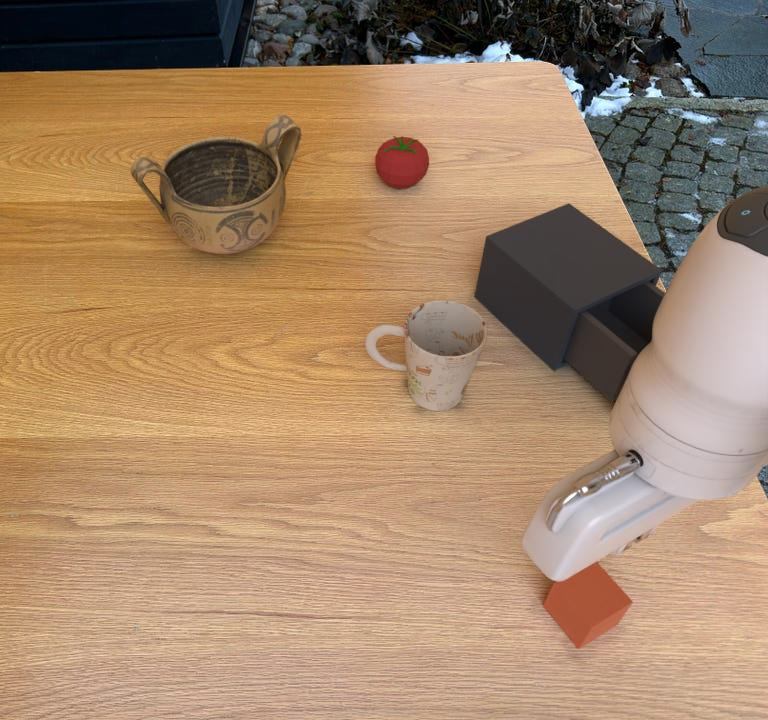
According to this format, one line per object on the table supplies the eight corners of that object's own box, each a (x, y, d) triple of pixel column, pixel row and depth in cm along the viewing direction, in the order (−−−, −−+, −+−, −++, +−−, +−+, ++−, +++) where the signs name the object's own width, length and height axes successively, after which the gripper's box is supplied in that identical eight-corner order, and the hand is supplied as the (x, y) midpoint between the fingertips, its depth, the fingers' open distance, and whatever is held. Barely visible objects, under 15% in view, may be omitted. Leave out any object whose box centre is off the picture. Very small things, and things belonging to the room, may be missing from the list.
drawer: (733, 407, 79) (764, 358, 74) (654, 451, 76) (681, 402, 70) (609, 308, 90) (629, 258, 84) (536, 342, 87) (551, 293, 81)
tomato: (365, 174, 113) (367, 128, 108) (411, 162, 115) (416, 117, 109) (387, 202, 108) (391, 156, 102) (436, 190, 110) (442, 144, 104)
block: (580, 582, 68) (594, 558, 64) (617, 624, 65) (633, 601, 62) (542, 605, 66) (553, 582, 63) (578, 649, 64) (592, 627, 60)
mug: (466, 427, 80) (480, 364, 73) (352, 401, 83) (355, 338, 76) (478, 372, 85) (492, 308, 78) (371, 349, 88) (375, 286, 81)
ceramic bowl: (274, 184, 112) (269, 89, 101) (328, 246, 102) (328, 149, 91) (133, 228, 106) (111, 132, 95) (174, 299, 95) (155, 201, 84)
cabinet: (635, 332, 89) (662, 270, 82) (553, 371, 85) (574, 310, 78) (551, 263, 98) (569, 202, 91) (473, 297, 94) (485, 235, 87)
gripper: (600, 539, 41) (545, 640, 51) (845, 396, 47) (753, 512, 57) (523, 456, 45) (486, 566, 55) (759, 335, 51) (687, 453, 61)
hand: (624, 538), depth 56 cm, fingers closed
